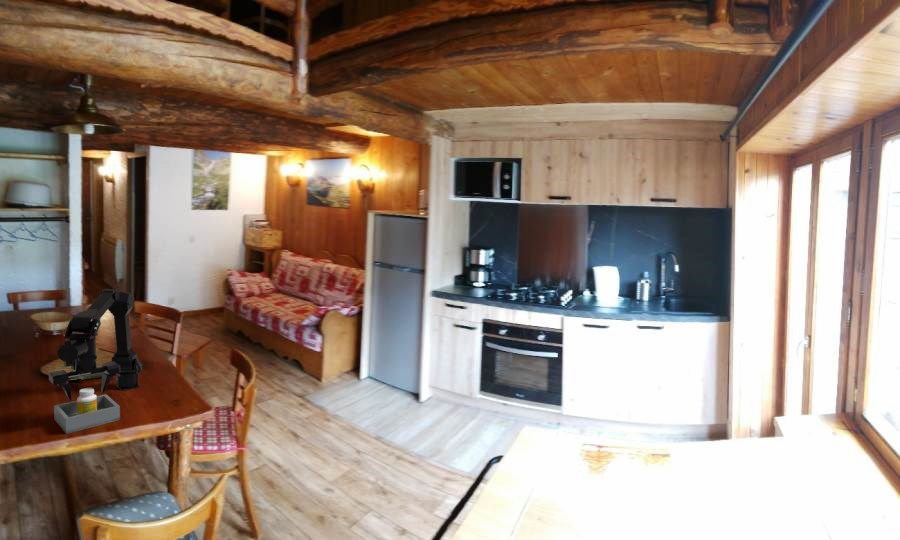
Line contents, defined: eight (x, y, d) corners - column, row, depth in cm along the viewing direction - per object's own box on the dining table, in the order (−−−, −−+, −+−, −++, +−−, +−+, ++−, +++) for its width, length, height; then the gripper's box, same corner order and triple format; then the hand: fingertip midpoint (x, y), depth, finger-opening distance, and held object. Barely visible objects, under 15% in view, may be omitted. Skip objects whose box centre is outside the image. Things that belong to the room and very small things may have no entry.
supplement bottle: (81, 421, 162) (81, 394, 161) (74, 417, 165) (73, 390, 164) (100, 416, 167) (99, 389, 166) (92, 412, 170) (92, 385, 168)
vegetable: (68, 383, 194) (68, 371, 194) (68, 379, 198) (67, 368, 198) (111, 377, 203) (110, 366, 203) (109, 374, 207) (109, 362, 207)
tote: (106, 407, 176) (106, 394, 176) (120, 419, 168) (119, 406, 167) (54, 419, 165) (53, 405, 164) (66, 433, 156) (65, 419, 155)
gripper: (109, 342, 175) (110, 383, 177) (43, 351, 160) (45, 396, 162) (120, 349, 168) (121, 392, 170) (52, 360, 154) (54, 407, 156)
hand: (86, 396), depth 165 cm, fingers open, 9 cm apart
